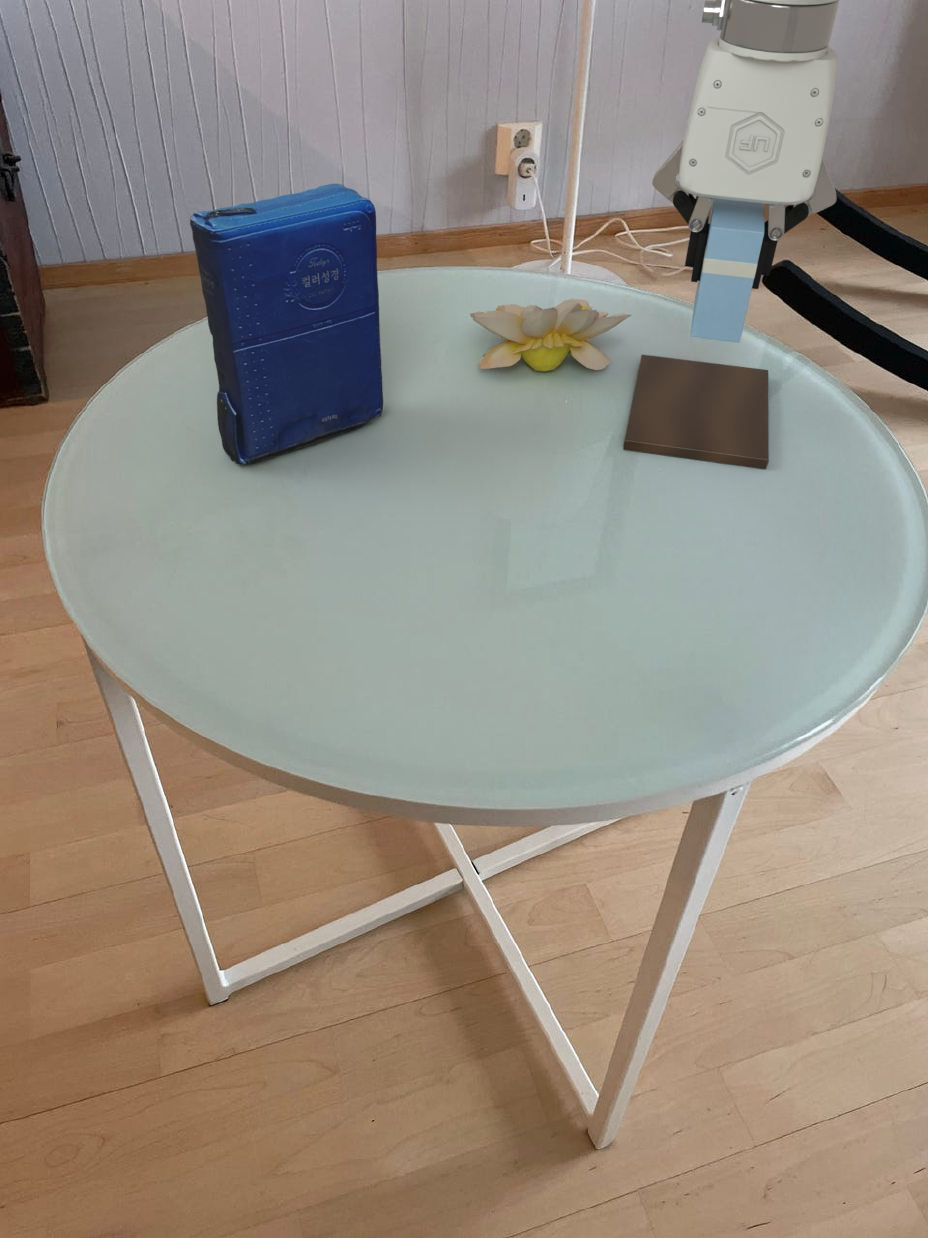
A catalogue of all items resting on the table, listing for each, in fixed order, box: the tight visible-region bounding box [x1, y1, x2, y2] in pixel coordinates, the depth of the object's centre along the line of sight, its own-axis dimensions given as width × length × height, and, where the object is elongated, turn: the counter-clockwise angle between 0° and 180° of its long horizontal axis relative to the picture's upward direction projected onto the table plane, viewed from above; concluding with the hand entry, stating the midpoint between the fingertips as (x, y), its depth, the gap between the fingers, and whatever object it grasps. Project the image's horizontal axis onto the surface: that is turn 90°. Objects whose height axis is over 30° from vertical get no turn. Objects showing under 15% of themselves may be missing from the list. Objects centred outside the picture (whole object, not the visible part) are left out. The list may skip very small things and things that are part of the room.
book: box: [189, 183, 384, 466], centre depth 79 cm, size 14×5×20 cm, turn 126°
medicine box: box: [690, 198, 766, 344], centre depth 81 cm, size 4×8×9 cm, turn 167°
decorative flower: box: [469, 298, 632, 373], centre depth 94 cm, size 15×11×10 cm
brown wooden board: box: [623, 354, 770, 470], centre depth 90 cm, size 12×16×1 cm
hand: (725, 276), depth 82 cm, fingers closed on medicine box, 4 cm apart
